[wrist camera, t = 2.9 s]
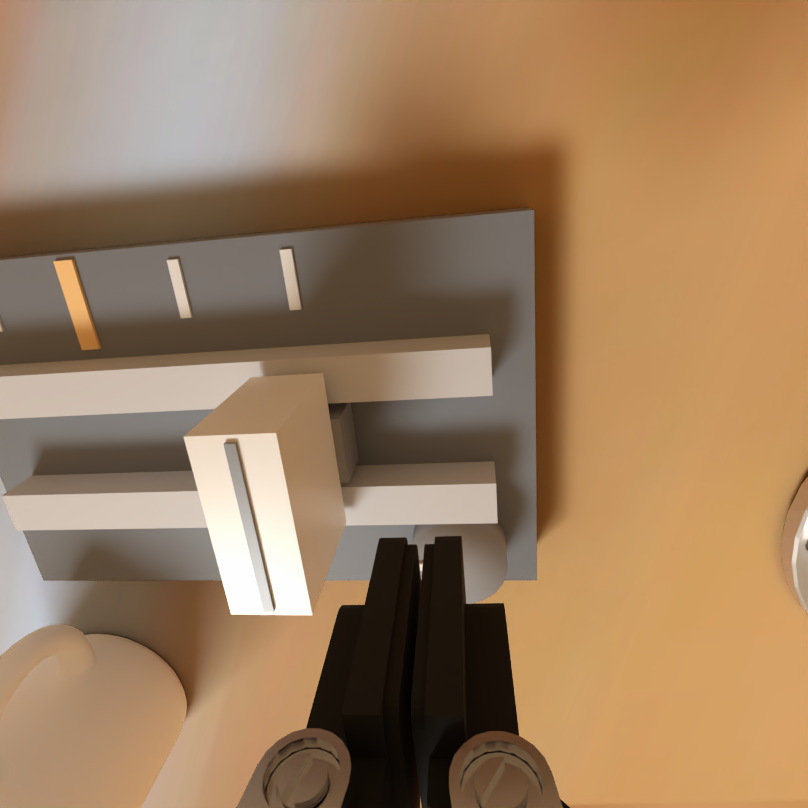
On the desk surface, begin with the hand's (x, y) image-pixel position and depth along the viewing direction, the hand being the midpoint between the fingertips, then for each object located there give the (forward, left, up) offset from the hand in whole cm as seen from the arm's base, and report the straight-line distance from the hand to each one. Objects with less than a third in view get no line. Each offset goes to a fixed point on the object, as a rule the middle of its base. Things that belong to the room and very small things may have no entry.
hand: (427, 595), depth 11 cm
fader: (+5, 0, -9) cm, 10 cm away
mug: (+19, +14, -11) cm, 26 cm away
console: (+8, 0, -11) cm, 14 cm away
